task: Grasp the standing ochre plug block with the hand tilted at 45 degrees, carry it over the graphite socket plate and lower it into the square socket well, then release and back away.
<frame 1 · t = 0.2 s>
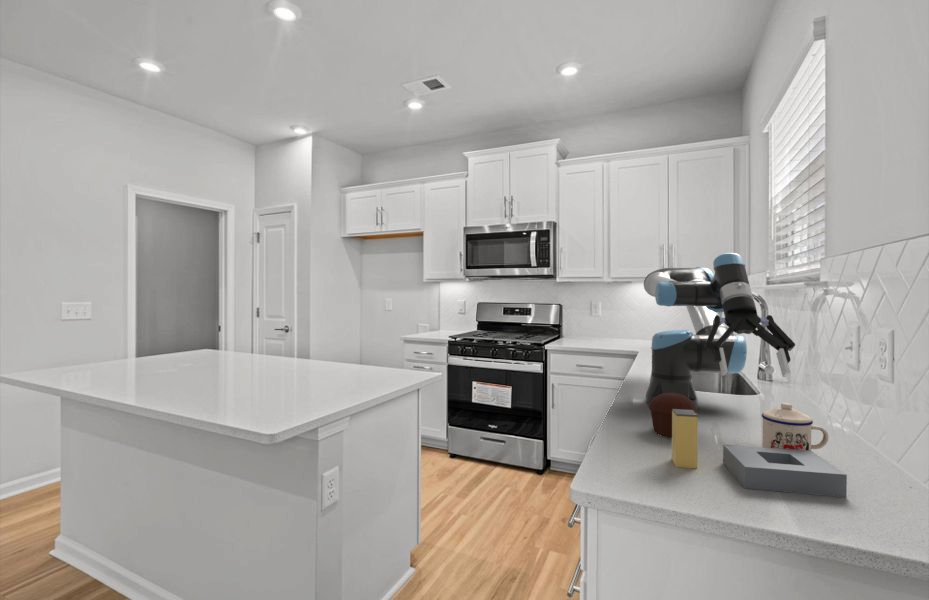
hand: (755, 374, 111), 15 cm above the table, tool tilted 35°, fingers open, 13 cm apart
muffin: (672, 434, 114), on the table
socket plate: (779, 478, 86), on the table
plug: (684, 463, 94), on the table
teacup with lid: (793, 458, 97), on the table
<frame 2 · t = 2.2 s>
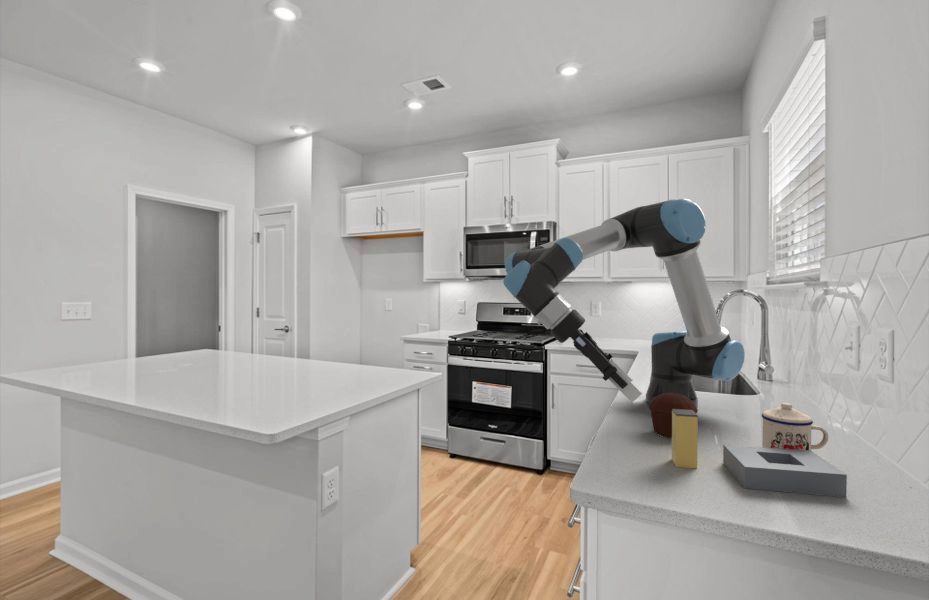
hand: (632, 390, 96), 15 cm above the table, tool tilted 45°, fingers open, 13 cm apart
nothing on the table moved.
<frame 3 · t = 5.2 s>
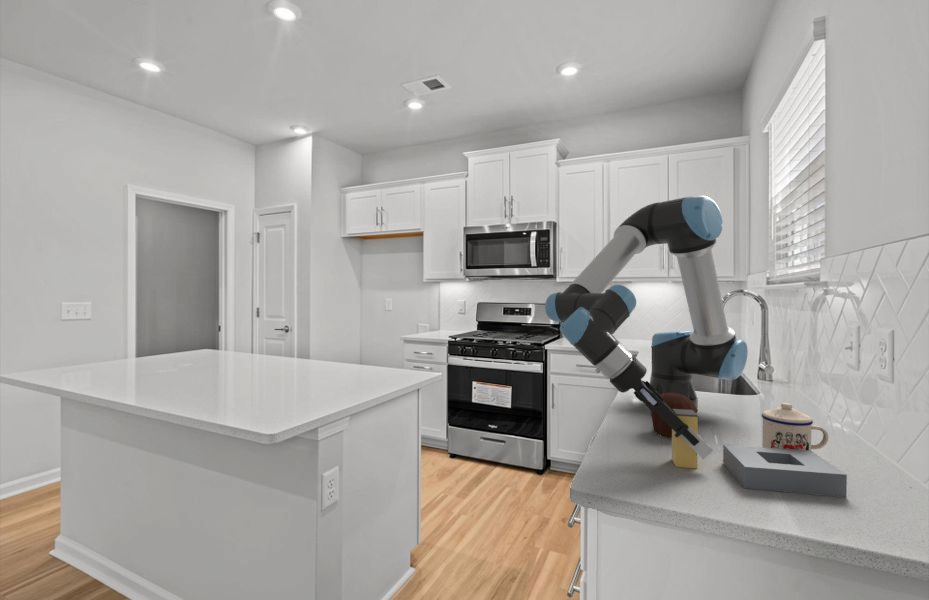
hand: (704, 450, 93), 3 cm above the table, tool tilted 45°, fingers closed on plug, 4 cm apart
plug: (684, 463, 94), on the table, touching gripper
everything else where it was.
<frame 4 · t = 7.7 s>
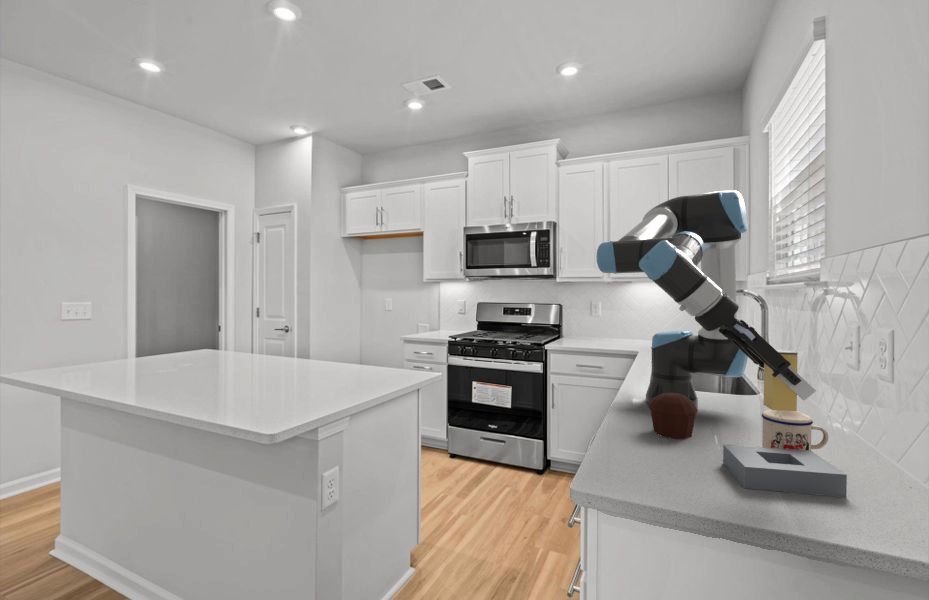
hand: (802, 392, 85), 17 cm above the table, tool tilted 45°, fingers closed on plug, 4 cm apart
plug: (779, 407, 86), point 14 cm above the table, touching gripper
everything else where it was.
when the fingers open (6 cm above the table, at t = 10.5 s): plug drops 1 cm, resting on socket plate.
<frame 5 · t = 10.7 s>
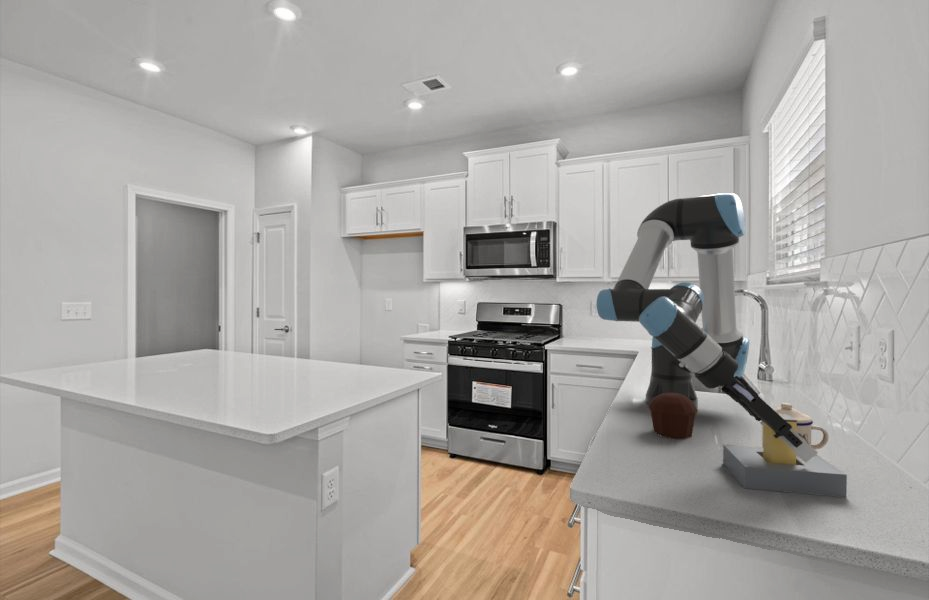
hand: (800, 449, 85), 6 cm above the table, tool tilted 45°, fingers open, 7 cm apart
plug: (778, 473, 86), point 1 cm above the table, touching socket plate
everything else where it was.
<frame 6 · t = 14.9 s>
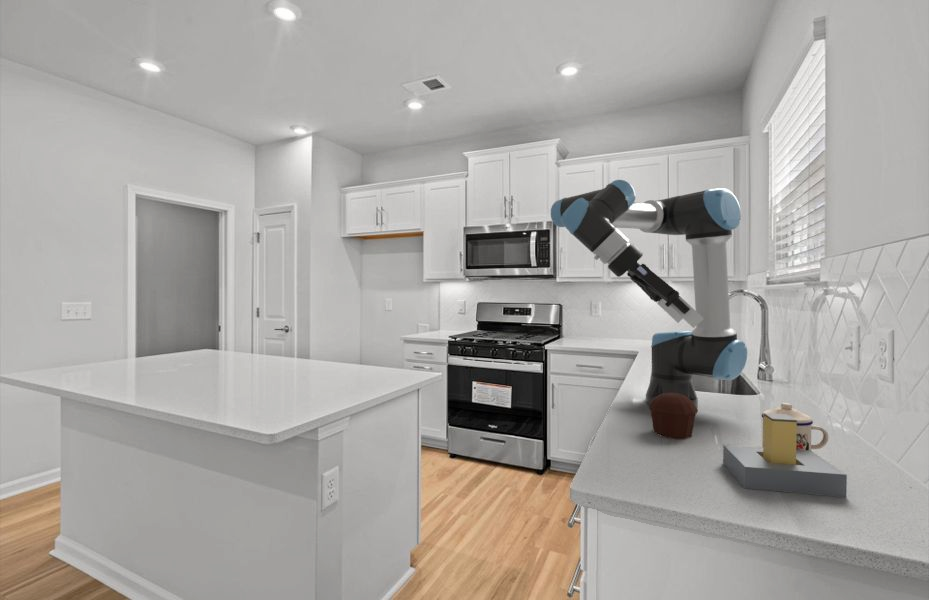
hand: (690, 320, 99), 30 cm above the table, tool tilted 45°, fingers open, 13 cm apart
nothing on the table moved.
at the end: plug 0.0 cm off-centre on the socket plate, point 1.1 cm above the socket plate's base; plug tilted 0°; the gripper is holding nothing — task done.
